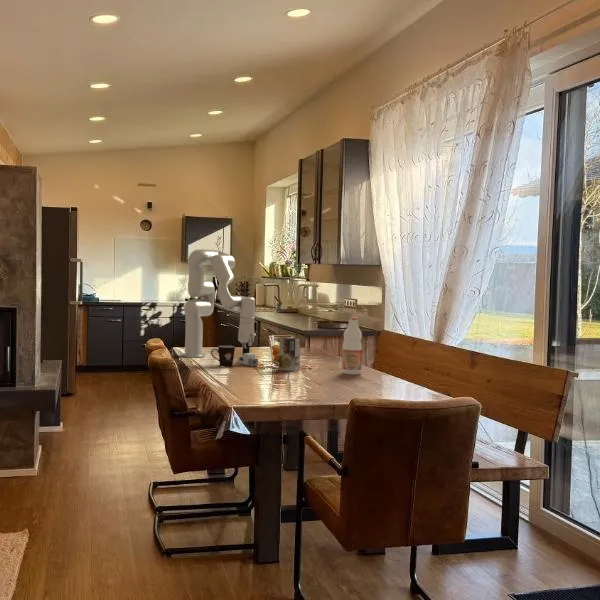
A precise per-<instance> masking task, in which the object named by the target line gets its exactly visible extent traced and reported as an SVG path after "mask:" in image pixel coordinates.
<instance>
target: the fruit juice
mask: <svg viewBox="0 0 600 600" xmlns="http://www.w3.org/2000/svg"><path fill="white" fill-rule="evenodd" d="M358 321H359V317H358V316H348V324H347V326H346V329H345V330H344V331H343V340H344V341H343V343H342V356H341V357H342V359H341V360H342V361H341V373H342V374H343V375H348V376H349V375H351V376H356V375H360V374H361V373H362V353H363V352H362V350H363V346H362V345H363V343H362V338H363V333H362V330H361V329H360V327H359V322H358Z"/></svg>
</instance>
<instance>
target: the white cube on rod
mask: <svg viewBox="0 0 600 600" xmlns="http://www.w3.org/2000/svg"><path fill="white" fill-rule="evenodd" d="M242 357H243V363H242V364H243V365H245V366H249V363H248V361H249V359H250V358H256V354H255V353H253V352H249V353H244V354H243V353H242Z"/></svg>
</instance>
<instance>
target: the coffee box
mask: <svg viewBox="0 0 600 600" xmlns="http://www.w3.org/2000/svg"><path fill="white" fill-rule="evenodd" d="M278 341H279V342H278V343H279V345H278V346H279V348H278V349H279V350H278V352H279V353H278V355H279V356H278V370H279V371H287V372H288V371H289V372H297V371H300V368H301V367H300V366H301V365H300V363H301V361H300V360H301V337H299V338H298V337H288V336H287V337H286V336H283V337H280V338H279V340H278Z"/></svg>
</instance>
